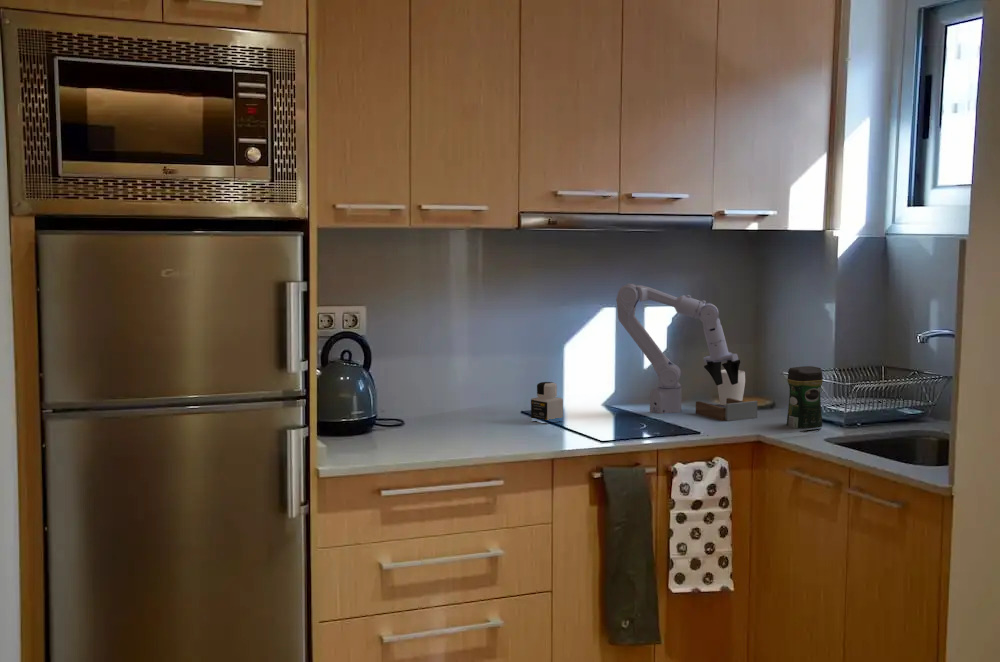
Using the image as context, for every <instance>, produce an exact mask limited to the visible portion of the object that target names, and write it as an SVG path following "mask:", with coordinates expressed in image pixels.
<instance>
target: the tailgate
mask: <svg viewBox="0 0 1000 662" xmlns="http://www.w3.org/2000/svg"><path fill="white" fill-rule="evenodd" d="M725 408H726V411H725V421H724V422H732V421H741V420H747V419H756V418H757V419H758V400H750V401H749V400H748V401H744V402H740V403H730V404H726V406H725Z"/></svg>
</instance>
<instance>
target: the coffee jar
mask: <svg viewBox="0 0 1000 662" xmlns="http://www.w3.org/2000/svg"><path fill="white" fill-rule="evenodd" d="M786 381H787V383H788V388H789V398H788V409H787V417H786V426H788V427H790V428H794V429H801V430H799V433H800V432H801V433H802V432H803V433H808V432H815V431H816V432H817V431H821V430H822V427H823V416H822V402H821V400H822V399H821V390H822V389H821V388H822V385H823V381H824V379H823V371H822V369H821V367H818V366H814V365H809V366H808V365H805V366H796V367H795V366H794V367H789V369H788V370H787V380H786ZM802 429H803V430H802ZM804 429H805V430H804Z"/></svg>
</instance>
